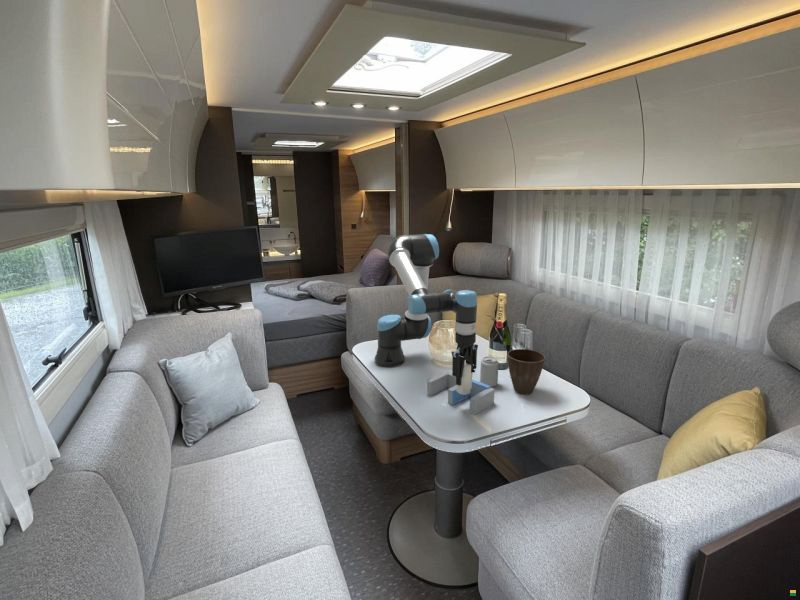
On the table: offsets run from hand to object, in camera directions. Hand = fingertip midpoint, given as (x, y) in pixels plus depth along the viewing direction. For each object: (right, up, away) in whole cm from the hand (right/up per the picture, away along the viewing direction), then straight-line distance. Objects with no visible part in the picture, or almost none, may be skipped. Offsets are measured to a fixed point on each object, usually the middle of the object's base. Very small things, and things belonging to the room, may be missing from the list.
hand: (464, 389), depth 153 cm
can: (+14, -3, +22) cm, 26 cm away
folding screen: (0, -6, +9) cm, 11 cm away
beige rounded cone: (0, -1, 0) cm, 1 cm away
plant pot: (+28, -4, +15) cm, 32 cm away
